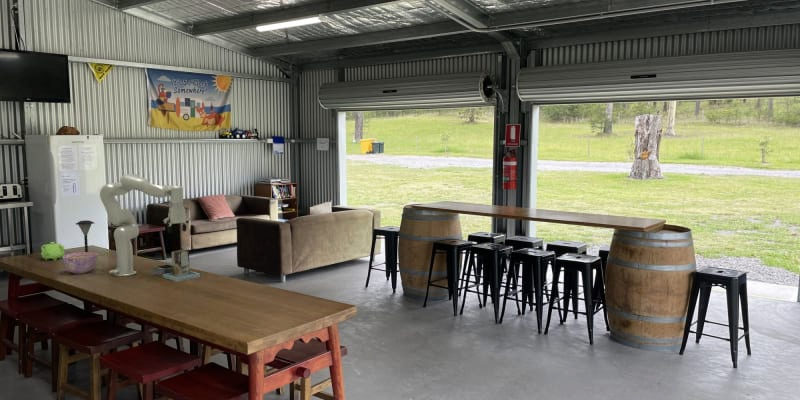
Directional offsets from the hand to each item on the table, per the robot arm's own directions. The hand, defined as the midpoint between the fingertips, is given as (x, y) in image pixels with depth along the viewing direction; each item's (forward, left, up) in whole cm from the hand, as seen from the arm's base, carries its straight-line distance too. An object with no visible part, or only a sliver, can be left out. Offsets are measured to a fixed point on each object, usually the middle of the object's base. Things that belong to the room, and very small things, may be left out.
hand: (177, 231), depth 360 cm
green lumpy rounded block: (-30, +121, -29) cm, 128 cm away
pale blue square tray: (-1, -6, -29) cm, 29 cm away
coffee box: (-2, -6, -28) cm, 28 cm away
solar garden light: (-19, +89, -29) cm, 95 cm away
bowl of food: (-35, +59, -29) cm, 75 cm away
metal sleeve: (-2, +11, -29) cm, 31 cm away
